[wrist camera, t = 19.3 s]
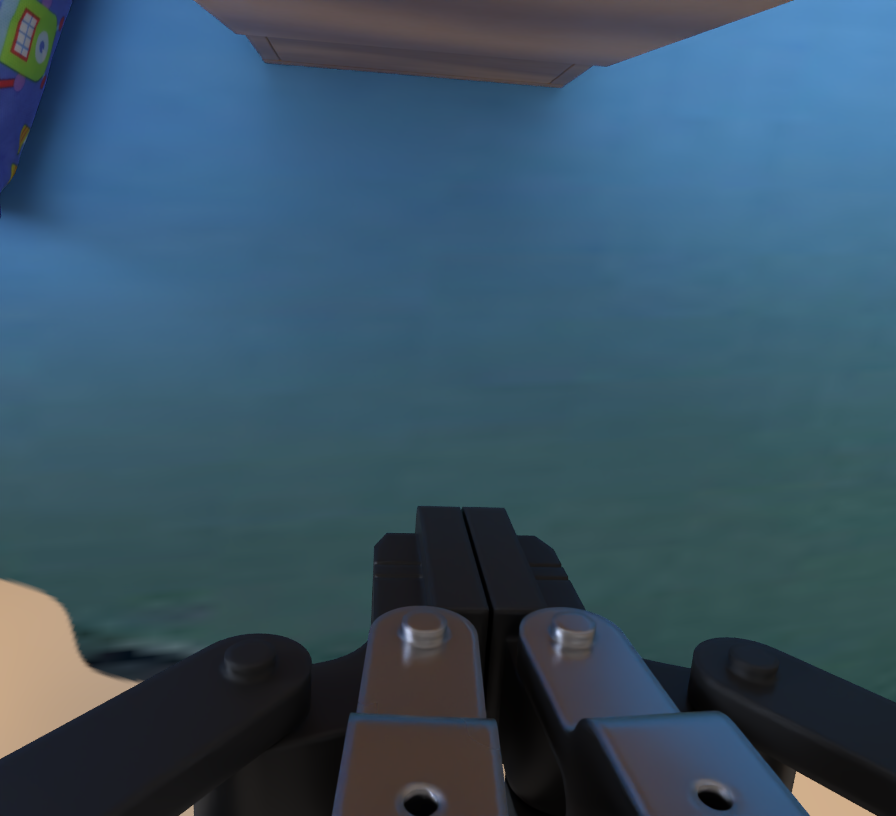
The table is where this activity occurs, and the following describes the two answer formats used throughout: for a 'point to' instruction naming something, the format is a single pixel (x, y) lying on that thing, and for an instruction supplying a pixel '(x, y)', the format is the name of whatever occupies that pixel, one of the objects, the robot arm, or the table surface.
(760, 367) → the table surface
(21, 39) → the pencil case
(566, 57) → the lid
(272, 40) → the chest
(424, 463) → the table surface
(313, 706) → the robot arm
